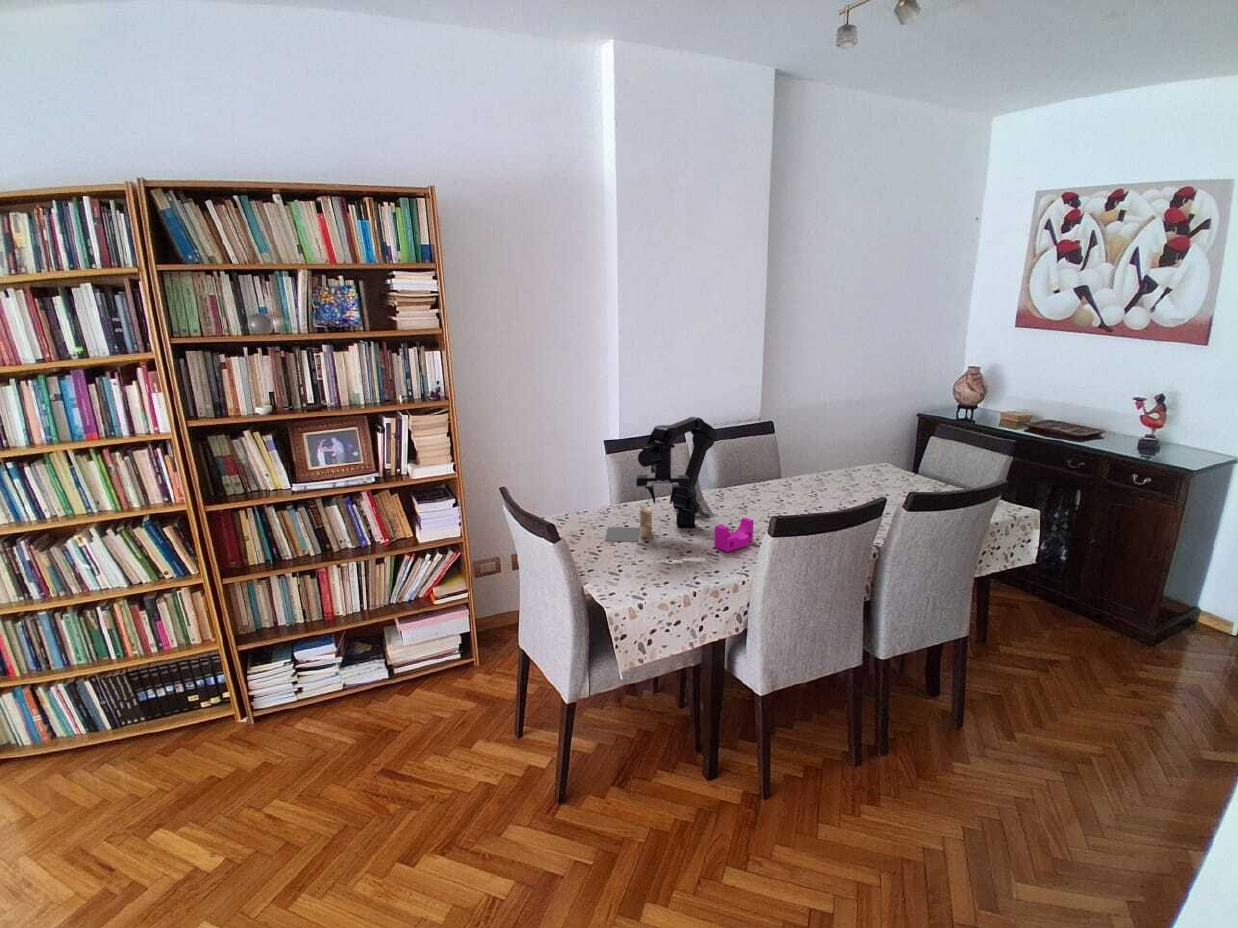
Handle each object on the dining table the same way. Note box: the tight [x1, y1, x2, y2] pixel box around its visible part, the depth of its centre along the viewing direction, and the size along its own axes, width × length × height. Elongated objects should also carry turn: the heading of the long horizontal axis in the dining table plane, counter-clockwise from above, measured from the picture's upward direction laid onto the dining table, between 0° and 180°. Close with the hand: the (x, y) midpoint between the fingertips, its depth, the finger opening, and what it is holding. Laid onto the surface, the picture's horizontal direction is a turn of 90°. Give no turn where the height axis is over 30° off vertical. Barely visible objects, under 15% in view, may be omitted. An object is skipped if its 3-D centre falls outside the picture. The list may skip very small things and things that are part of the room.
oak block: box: [639, 505, 653, 539], centre depth 231 cm, size 4×6×10 cm, turn 176°
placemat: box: [604, 526, 640, 543], centre depth 233 cm, size 12×14×1 cm
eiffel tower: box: [672, 444, 717, 518], centre depth 251 cm, size 13×13×30 cm
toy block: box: [714, 517, 755, 553], centre depth 223 cm, size 15×6×8 cm, turn 125°
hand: (662, 503), depth 229 cm, fingers open, 5 cm apart
